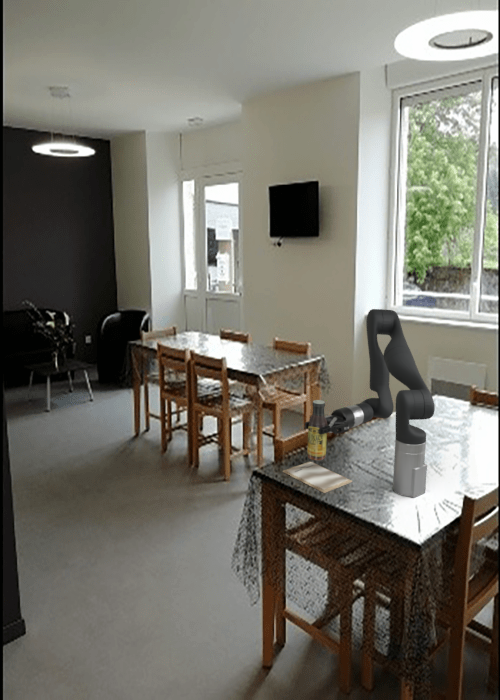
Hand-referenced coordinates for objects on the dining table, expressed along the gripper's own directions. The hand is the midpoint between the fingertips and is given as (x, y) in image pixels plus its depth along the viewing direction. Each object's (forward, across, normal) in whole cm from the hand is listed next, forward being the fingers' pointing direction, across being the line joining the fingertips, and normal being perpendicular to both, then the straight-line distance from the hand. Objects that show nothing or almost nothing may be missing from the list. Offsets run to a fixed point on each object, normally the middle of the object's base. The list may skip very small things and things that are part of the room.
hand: (312, 428), depth 184 cm
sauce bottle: (-2, 0, +11) cm, 11 cm away
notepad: (-2, 0, +18) cm, 18 cm away
